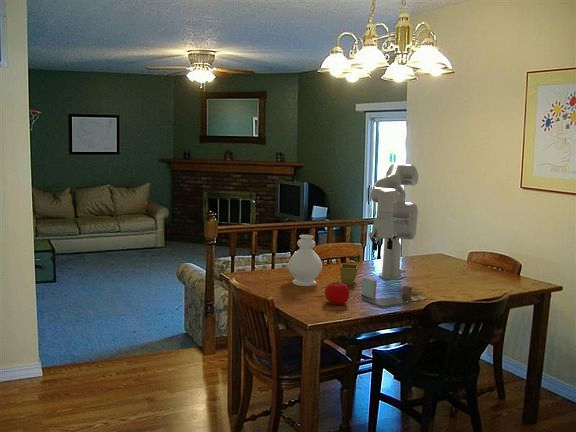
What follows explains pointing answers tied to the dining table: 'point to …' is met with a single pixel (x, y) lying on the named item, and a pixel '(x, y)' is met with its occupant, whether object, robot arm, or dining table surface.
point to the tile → (369, 287)
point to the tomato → (337, 293)
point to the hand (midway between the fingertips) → (382, 249)
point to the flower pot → (348, 273)
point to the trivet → (387, 302)
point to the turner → (408, 292)
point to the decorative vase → (305, 262)
